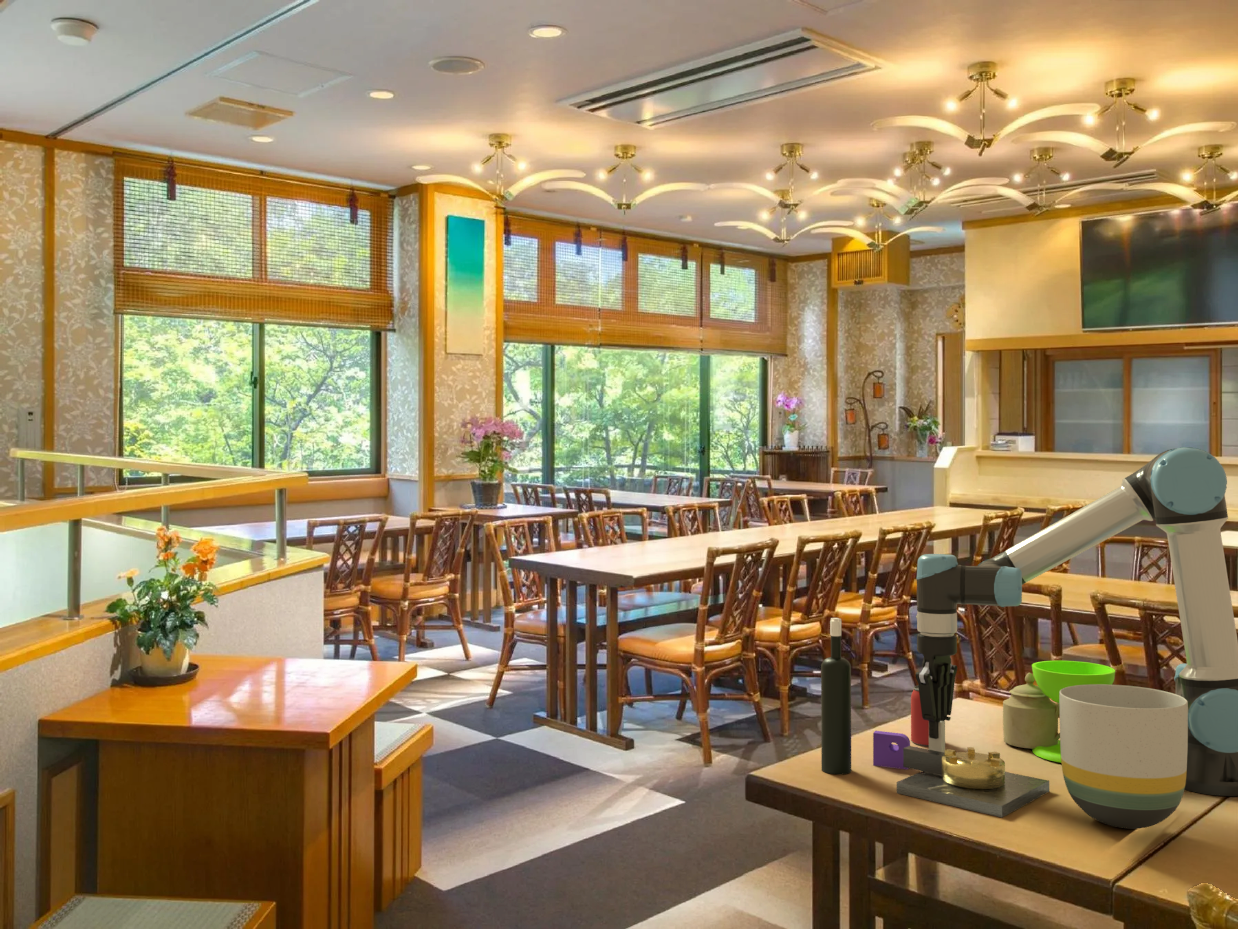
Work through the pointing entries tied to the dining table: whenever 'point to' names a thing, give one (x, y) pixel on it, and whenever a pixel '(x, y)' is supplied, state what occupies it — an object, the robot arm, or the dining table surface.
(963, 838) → the dining table surface
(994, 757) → the gold tabbed disc
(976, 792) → the plate
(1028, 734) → the sugar bowl
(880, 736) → the bracket
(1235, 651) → the robot arm
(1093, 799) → the planter
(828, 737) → the wine bottle
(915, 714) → the beer can
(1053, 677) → the wineglass
